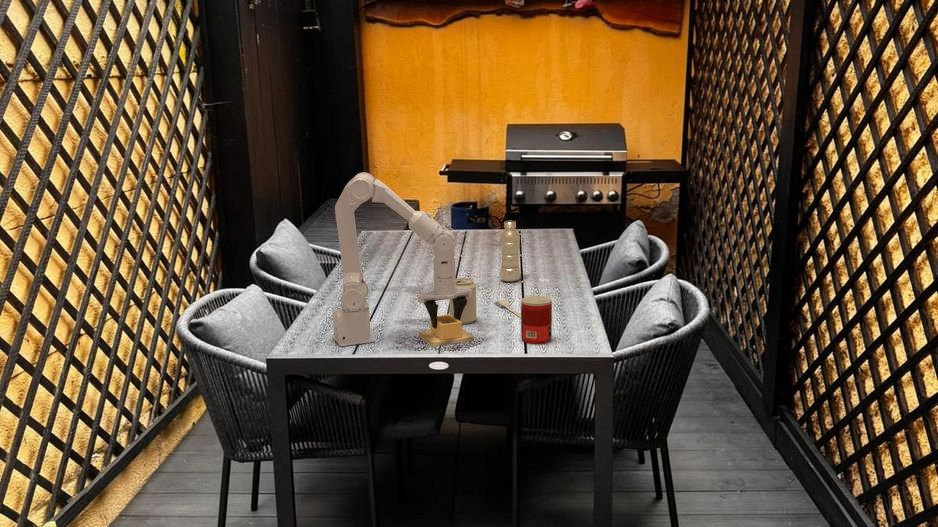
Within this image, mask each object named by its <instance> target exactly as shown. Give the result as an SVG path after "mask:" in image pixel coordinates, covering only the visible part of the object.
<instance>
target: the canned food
mask: <svg viewBox="0 0 938 527" xmlns="http://www.w3.org/2000/svg"><path fill="white" fill-rule="evenodd" d="M520 313H521V318H520V325H521V326H520V338H521V340H522V342H523V343H526V344H529V343H530V345H544V344H548V343H549V342H551V340H552V336H553V335H552V334H553V333H552V332H553V331H552V326H553V324H552V322H553V318H552V317H553V316H552V315H553V301H552V298H550V297H548V296H545V295H544V296H541V295H530V296H526V297H523V298H521V301H520ZM547 342H548V343H547Z"/></svg>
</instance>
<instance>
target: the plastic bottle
mask: <svg viewBox="0 0 938 527" xmlns="http://www.w3.org/2000/svg"><path fill="white" fill-rule="evenodd" d="M516 223H517V222H516V220H505V221H504V223H503V224H504V225H503V228H504V230H503V231H502V232H501V234H500V236H499V240H500V247H501V264H500V265H501V266H500V271H499V275H500V276H499V277H500V279H501V281H503V282H510V283H511V282H516V281H519V279H520V278H521V270H520V267H519V266H520V264H519V263H520V262H519V252H520V250H519V249H520V244H521V243H520V242H521V236H520V233H519V232H518V231H517V229H516V228H517V224H516Z"/></svg>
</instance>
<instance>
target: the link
mask: <svg viewBox="0 0 938 527" xmlns="http://www.w3.org/2000/svg"><path fill="white" fill-rule="evenodd" d="M429 319H430V320H429V324H430V331H431V332H432V333H433V334H435V335H436V336H437V337H439V338H440V339H441V340H445V339H452V338H460V337H462V328H463V324H462V322H461V321H459V320H458V319H456V318H455V317H454V316H452V315H451V314H450V313H449V314H441V315H437V328H434V327H432V322H431V318H430V317H429ZM442 321H449V323H446V324H443V323H442Z"/></svg>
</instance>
